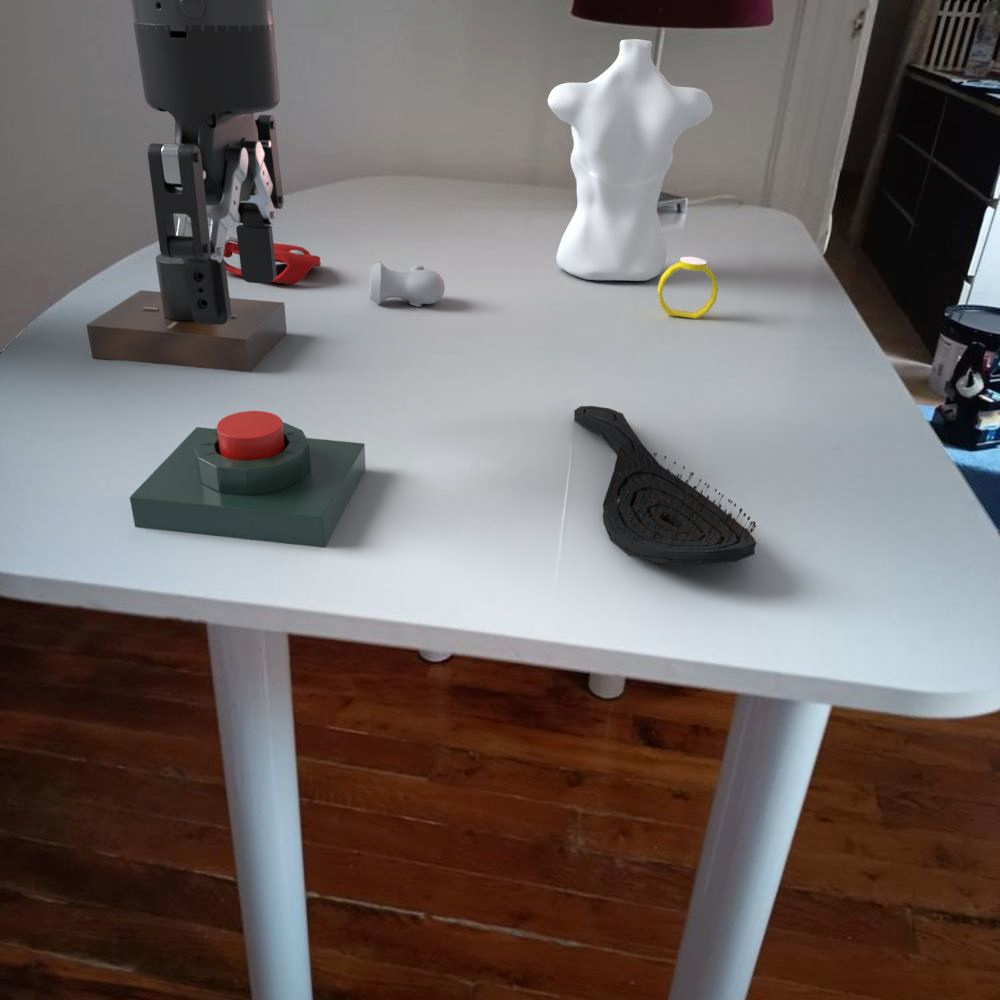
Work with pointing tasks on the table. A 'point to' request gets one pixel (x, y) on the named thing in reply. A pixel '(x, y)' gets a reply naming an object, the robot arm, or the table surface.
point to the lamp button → (250, 435)
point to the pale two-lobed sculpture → (405, 285)
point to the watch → (694, 265)
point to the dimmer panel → (187, 334)
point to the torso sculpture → (622, 163)
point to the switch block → (252, 490)
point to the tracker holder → (280, 260)
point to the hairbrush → (661, 504)
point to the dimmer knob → (173, 288)
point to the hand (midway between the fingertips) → (237, 300)
